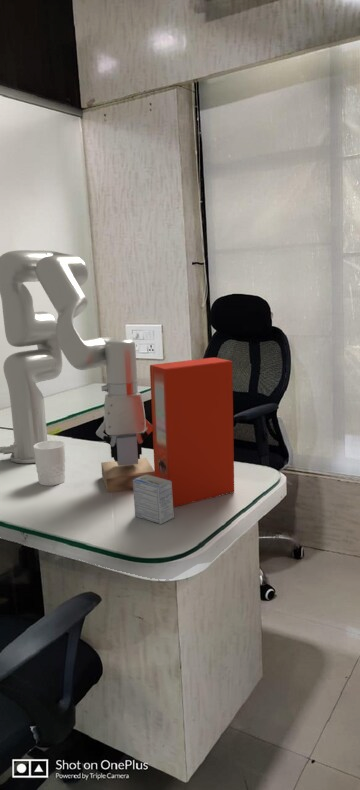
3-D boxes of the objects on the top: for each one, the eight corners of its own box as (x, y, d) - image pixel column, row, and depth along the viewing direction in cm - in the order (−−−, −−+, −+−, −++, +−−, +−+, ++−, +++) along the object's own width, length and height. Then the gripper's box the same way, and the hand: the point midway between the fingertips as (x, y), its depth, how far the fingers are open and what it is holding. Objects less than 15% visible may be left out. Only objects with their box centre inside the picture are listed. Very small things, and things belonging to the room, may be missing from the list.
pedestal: (107, 492, 150) (106, 476, 149) (102, 477, 161) (101, 462, 161) (155, 486, 153) (154, 471, 152) (146, 472, 164) (146, 457, 163)
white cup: (33, 480, 161) (30, 443, 159) (62, 474, 165) (59, 439, 163) (41, 488, 154) (37, 450, 152) (71, 483, 158) (68, 445, 156)
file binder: (235, 492, 146) (232, 360, 140) (171, 508, 138) (165, 368, 132) (217, 483, 153) (213, 357, 147) (155, 497, 145) (149, 364, 139)
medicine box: (174, 518, 133) (172, 480, 131) (160, 525, 129) (158, 486, 128) (148, 510, 138) (146, 473, 136) (134, 516, 135) (132, 479, 133)
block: (118, 465, 153) (116, 438, 152) (116, 460, 158) (114, 434, 156) (138, 463, 154) (136, 436, 153) (135, 458, 159) (133, 432, 158)
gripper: (89, 394, 147) (94, 466, 150) (159, 388, 150) (162, 459, 154) (87, 389, 154) (91, 458, 157) (153, 383, 158) (156, 451, 161)
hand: (126, 458), depth 156 cm, fingers closed on block, 5 cm apart
